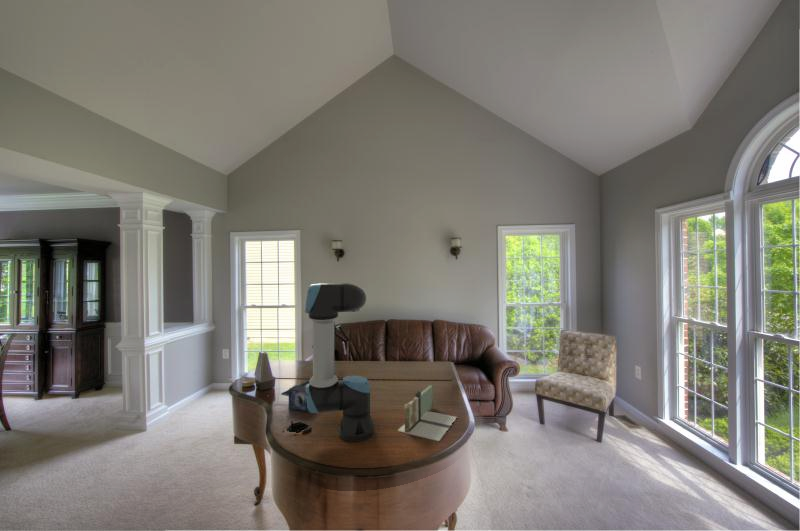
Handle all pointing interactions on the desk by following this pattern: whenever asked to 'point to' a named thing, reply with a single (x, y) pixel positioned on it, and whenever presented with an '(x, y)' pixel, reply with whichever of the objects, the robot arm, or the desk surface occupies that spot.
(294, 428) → the black jagged lump
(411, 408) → the fixed fence
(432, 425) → the card
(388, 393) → the desk surface
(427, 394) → the hinged panel
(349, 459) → the desk surface
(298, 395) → the small box
